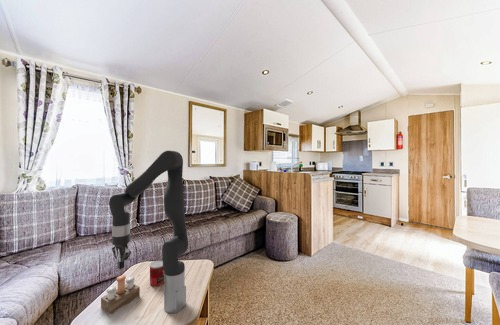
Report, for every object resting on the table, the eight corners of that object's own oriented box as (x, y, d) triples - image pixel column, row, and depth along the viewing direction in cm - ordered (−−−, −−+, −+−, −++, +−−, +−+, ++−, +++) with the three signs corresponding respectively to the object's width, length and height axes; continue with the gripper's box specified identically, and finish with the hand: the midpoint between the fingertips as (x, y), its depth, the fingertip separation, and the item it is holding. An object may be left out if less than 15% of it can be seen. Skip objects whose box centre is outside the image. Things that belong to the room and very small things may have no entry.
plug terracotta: (127, 294, 101) (127, 276, 101) (119, 298, 98) (119, 280, 98) (122, 291, 103) (122, 274, 103) (114, 296, 100) (114, 278, 100)
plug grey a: (117, 305, 97) (117, 287, 97) (109, 310, 94) (109, 292, 94) (113, 302, 99) (113, 285, 99) (104, 307, 96) (104, 289, 96)
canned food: (159, 287, 112) (159, 268, 112) (146, 285, 113) (146, 266, 113) (167, 279, 119) (167, 261, 119) (155, 278, 121) (155, 259, 121)
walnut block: (139, 296, 105) (139, 286, 105) (110, 314, 93) (110, 303, 92) (130, 291, 109) (130, 282, 109) (101, 308, 96) (101, 297, 96)
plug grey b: (135, 294, 105) (136, 278, 105) (128, 299, 102) (128, 281, 102) (131, 292, 107) (131, 275, 107) (124, 296, 104) (124, 279, 104)
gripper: (136, 233, 100) (136, 268, 100) (121, 228, 106) (121, 261, 107) (121, 238, 93) (121, 275, 94) (105, 233, 100) (105, 267, 100)
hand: (121, 267), depth 100 cm, fingers closed
